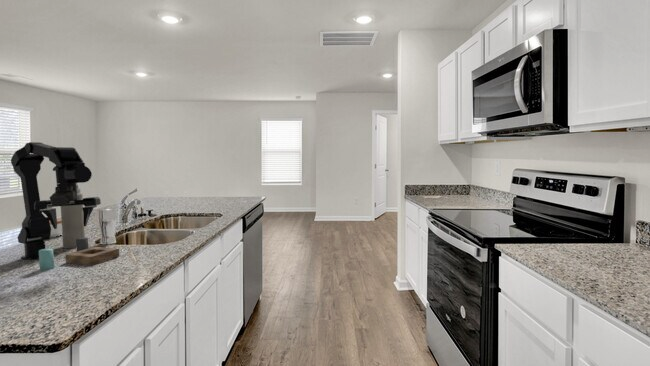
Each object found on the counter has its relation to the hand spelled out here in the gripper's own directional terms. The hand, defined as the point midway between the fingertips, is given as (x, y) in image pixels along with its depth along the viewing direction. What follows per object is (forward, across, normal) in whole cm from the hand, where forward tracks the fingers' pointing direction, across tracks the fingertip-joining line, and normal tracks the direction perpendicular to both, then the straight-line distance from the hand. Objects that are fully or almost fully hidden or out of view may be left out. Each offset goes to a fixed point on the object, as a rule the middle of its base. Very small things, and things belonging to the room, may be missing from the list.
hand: (70, 227), depth 133 cm
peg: (+13, -8, -2) cm, 15 cm away
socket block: (+13, +4, +6) cm, 15 cm away
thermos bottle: (+12, -11, +33) cm, 37 cm away
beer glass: (+12, +1, +35) cm, 37 cm away
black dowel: (+13, -3, +18) cm, 22 cm away
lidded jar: (+11, -29, +59) cm, 66 cm away
